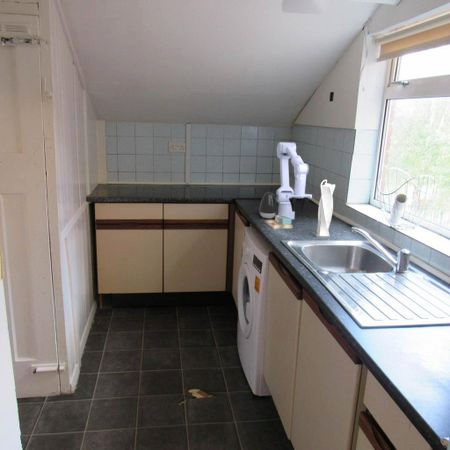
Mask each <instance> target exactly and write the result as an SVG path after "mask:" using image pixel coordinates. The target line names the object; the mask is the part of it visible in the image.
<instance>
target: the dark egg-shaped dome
mask: <svg viewBox="0 0 450 450" xmlns="http://www.w3.org/2000/svg"><path fill="white" fill-rule="evenodd" d="M276 196H278V195H277V194H276V193H275V194H274V193H273V192H271V191H266V193H264V195H263V197H262V198H261V202H260V204H259V209H258V210H259V214H260V216H261V217H262V218H264V219H273V218H275V215H277V213H278V206H277V201H276Z"/></svg>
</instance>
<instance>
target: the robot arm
mask: <svg viewBox="0 0 450 450" xmlns="http://www.w3.org/2000/svg"><path fill="white" fill-rule="evenodd" d="M276 157H277V158H278V159H279V174H280V187H279V188H278V189H276V193H275V195H276V194H277V195H278V196H276V197H275V201H276V204H278V205H277V215H285V216H287V217H289V218H291V219H292V220H295V213H296V205H297V199H300V211H301V212H303V213H304V211H305V208H306V206H307V204H308V202H309V201H310V199H312V198H313V194H310V193H306V184H307V183H306V182H307V175H308V174H309V171H310V168H309V164H308V163H304V161H303V159H302V157H301V156H300V155H298V153H297V145H296V142H294V141H293V142H284V141H283V142H282V141H280V142H278V143H277V146H276ZM289 159H290V163H291V165H292V167H293V172H294V188H292V187H290V174H289V173H290V171H289Z"/></svg>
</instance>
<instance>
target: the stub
mask: <svg viewBox="0 0 450 450" xmlns="http://www.w3.org/2000/svg"><path fill="white" fill-rule="evenodd" d="M292 220H293V219H291V218H289V217H279V223H281V224H282V225H292Z"/></svg>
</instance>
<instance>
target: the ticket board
mask: <svg viewBox="0 0 450 450" xmlns="http://www.w3.org/2000/svg"><path fill="white" fill-rule="evenodd" d="M279 217H287V216H285V215H278V214H275V216H274V218H275V219H267V220H264V224H266V225H267V226H268V227H270V228H272V229H273V230H274V229H275V230H276V229H279V230H280V229H293V224H291V225H282V224H281V223H279Z"/></svg>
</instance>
